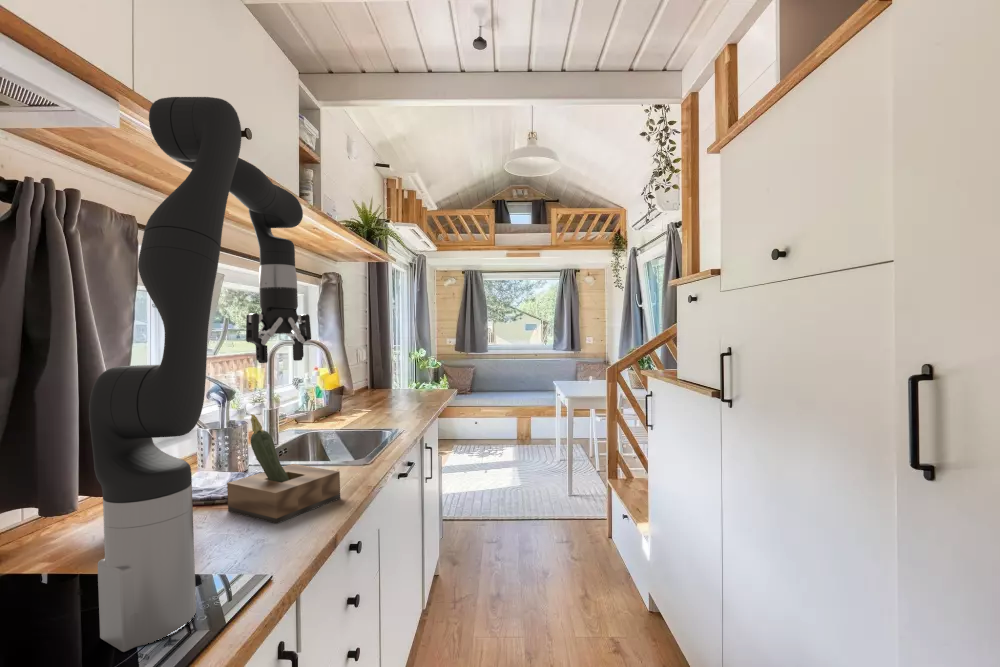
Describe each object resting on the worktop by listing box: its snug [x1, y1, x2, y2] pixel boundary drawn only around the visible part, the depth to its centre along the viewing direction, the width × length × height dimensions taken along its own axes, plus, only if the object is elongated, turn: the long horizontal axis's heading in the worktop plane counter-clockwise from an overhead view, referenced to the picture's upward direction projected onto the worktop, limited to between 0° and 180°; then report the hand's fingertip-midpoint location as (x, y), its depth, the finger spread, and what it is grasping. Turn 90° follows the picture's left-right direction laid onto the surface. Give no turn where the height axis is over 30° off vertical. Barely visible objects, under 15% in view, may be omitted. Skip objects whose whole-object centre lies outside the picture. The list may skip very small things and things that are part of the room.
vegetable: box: [250, 413, 290, 483], centre depth 105 cm, size 4×4×20 cm
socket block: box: [226, 463, 341, 525], centre depth 106 cm, size 16×16×6 cm
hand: (281, 361), depth 106 cm, fingers open, 8 cm apart
